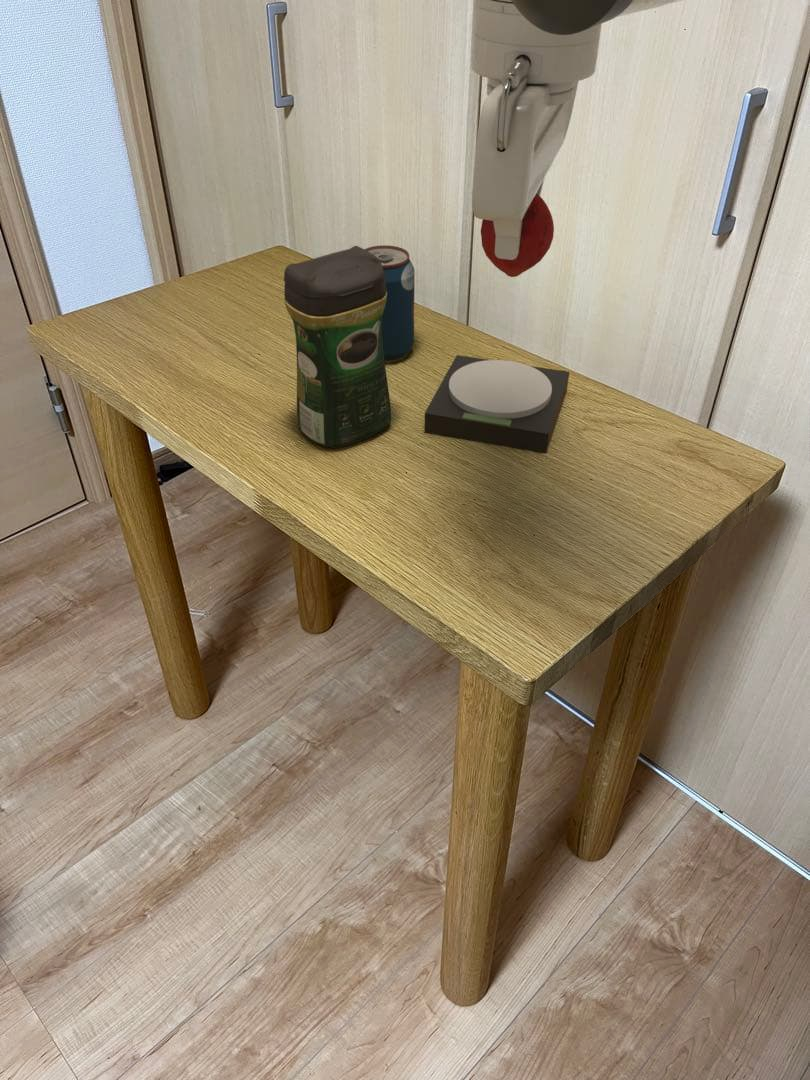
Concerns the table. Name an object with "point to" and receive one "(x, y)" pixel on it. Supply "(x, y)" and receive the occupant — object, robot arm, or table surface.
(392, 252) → the soda can
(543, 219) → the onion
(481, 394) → the scale
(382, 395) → the coffee jar
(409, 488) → the table surface
